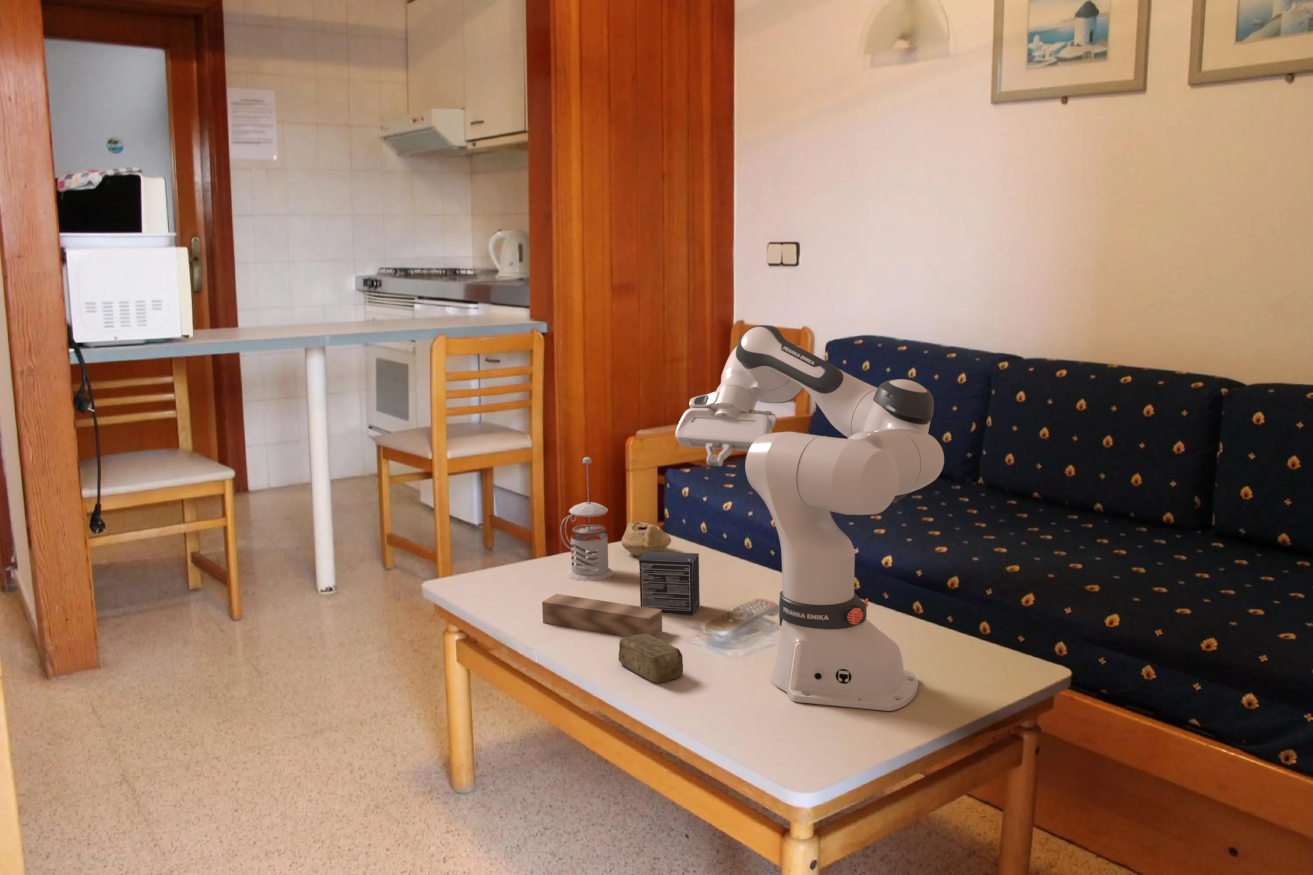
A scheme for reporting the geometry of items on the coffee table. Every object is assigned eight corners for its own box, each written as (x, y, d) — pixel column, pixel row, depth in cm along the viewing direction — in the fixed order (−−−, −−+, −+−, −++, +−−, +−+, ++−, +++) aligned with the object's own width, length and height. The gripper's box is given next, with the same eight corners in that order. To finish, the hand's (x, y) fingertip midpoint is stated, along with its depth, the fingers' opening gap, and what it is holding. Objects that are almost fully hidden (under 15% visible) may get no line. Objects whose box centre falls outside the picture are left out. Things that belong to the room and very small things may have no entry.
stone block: (656, 687, 168) (656, 657, 167) (615, 665, 177) (615, 636, 177) (686, 678, 172) (685, 648, 171) (644, 657, 181) (643, 629, 180)
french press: (597, 583, 220) (593, 463, 215) (550, 575, 226) (546, 458, 221) (622, 570, 228) (619, 454, 224) (576, 563, 234) (573, 450, 230)
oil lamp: (645, 541, 250) (644, 508, 249) (682, 556, 238) (681, 521, 236) (604, 549, 244) (603, 515, 243) (640, 565, 232) (639, 529, 230)
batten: (662, 631, 192) (661, 609, 191) (649, 640, 188) (649, 618, 187) (557, 614, 202) (556, 593, 201) (542, 622, 198) (542, 601, 197)
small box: (701, 604, 206) (700, 551, 204) (694, 616, 200) (693, 561, 198) (647, 601, 208) (646, 549, 206) (639, 612, 202) (638, 558, 200)
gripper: (782, 421, 223) (765, 476, 216) (692, 415, 232) (673, 468, 225) (775, 402, 218) (757, 459, 211) (683, 397, 227) (663, 451, 220)
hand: (713, 464), depth 218 cm, fingers closed
